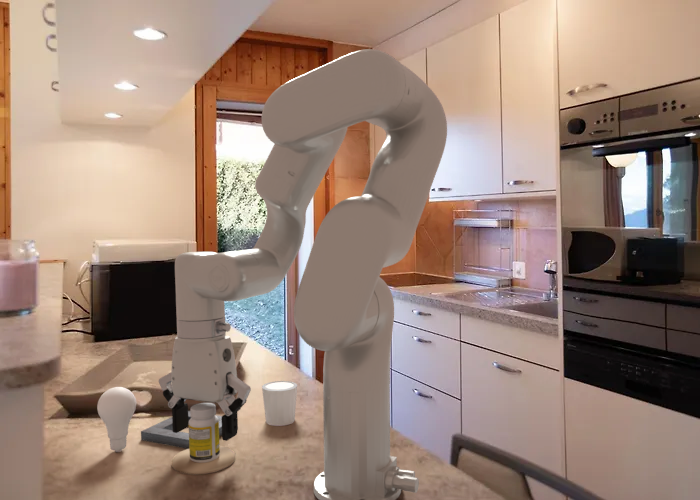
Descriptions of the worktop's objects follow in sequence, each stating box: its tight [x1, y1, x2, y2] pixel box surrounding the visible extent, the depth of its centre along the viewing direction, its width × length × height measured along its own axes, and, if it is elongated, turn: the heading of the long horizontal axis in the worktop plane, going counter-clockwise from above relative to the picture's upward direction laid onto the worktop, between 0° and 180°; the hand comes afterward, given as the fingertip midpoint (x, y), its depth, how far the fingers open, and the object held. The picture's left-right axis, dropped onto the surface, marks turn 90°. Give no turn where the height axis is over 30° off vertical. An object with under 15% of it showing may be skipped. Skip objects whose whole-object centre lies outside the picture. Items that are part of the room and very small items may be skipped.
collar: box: [140, 410, 223, 450], centre depth 105 cm, size 12×12×2 cm
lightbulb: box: [96, 386, 137, 453], centre depth 97 cm, size 6×6×11 cm
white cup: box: [261, 380, 298, 427], centre depth 112 cm, size 7×7×7 cm
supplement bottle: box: [188, 402, 221, 463], centre depth 93 cm, size 5×5×8 cm
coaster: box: [171, 445, 236, 475], centre depth 93 cm, size 10×10×1 cm
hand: (204, 433), depth 93 cm, fingers open, 9 cm apart
